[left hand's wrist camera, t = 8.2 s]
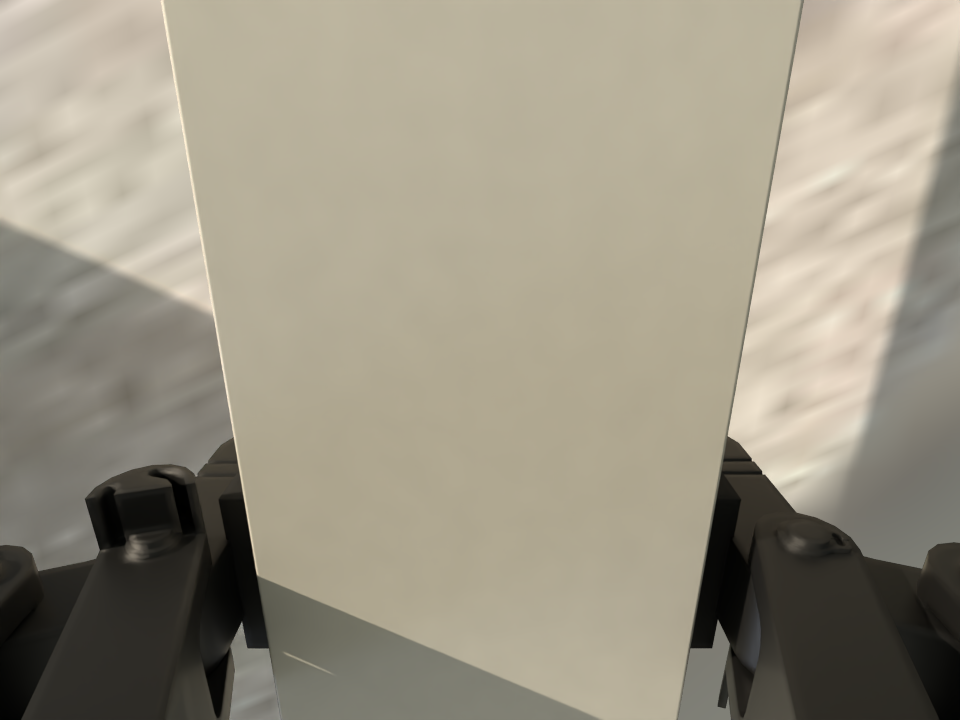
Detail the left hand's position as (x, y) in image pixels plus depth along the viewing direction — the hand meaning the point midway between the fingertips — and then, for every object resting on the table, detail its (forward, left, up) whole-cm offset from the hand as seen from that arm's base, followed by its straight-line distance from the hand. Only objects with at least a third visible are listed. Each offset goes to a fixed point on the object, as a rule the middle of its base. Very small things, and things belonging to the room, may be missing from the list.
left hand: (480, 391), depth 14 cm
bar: (+11, +32, -1) cm, 34 cm away
